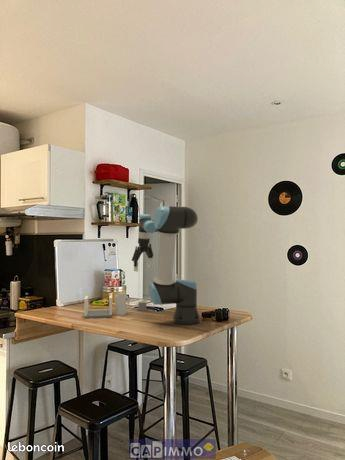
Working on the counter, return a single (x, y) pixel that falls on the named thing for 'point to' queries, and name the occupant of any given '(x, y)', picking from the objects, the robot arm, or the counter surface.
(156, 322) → the counter surface
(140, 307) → the junction box
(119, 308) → the mug
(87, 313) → the grey u-shaped piece
